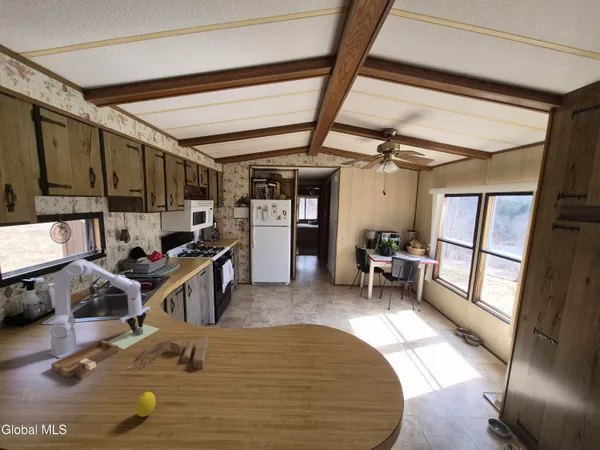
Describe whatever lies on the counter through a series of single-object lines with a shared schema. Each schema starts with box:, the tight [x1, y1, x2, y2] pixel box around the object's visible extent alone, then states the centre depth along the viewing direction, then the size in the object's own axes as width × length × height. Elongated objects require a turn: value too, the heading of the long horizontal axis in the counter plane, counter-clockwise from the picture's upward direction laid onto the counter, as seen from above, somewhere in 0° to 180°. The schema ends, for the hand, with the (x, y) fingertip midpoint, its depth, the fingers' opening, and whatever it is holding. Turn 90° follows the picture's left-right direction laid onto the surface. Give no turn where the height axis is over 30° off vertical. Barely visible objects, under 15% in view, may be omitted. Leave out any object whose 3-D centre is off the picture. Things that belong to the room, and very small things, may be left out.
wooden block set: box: [170, 336, 209, 370], centre depth 104 cm, size 17×6×18 cm
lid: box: [107, 323, 160, 350], centre depth 121 cm, size 14×19×4 cm
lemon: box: [135, 391, 157, 418], centre depth 76 cm, size 6×6×8 cm
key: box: [80, 358, 97, 370], centre depth 93 cm, size 7×2×2 cm, turn 68°
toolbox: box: [50, 339, 119, 380], centre depth 101 cm, size 18×18×6 cm
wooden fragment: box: [126, 335, 179, 370], centre depth 109 cm, size 26×11×1 cm, turn 158°
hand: (137, 328), depth 123 cm, fingers open, 3 cm apart
